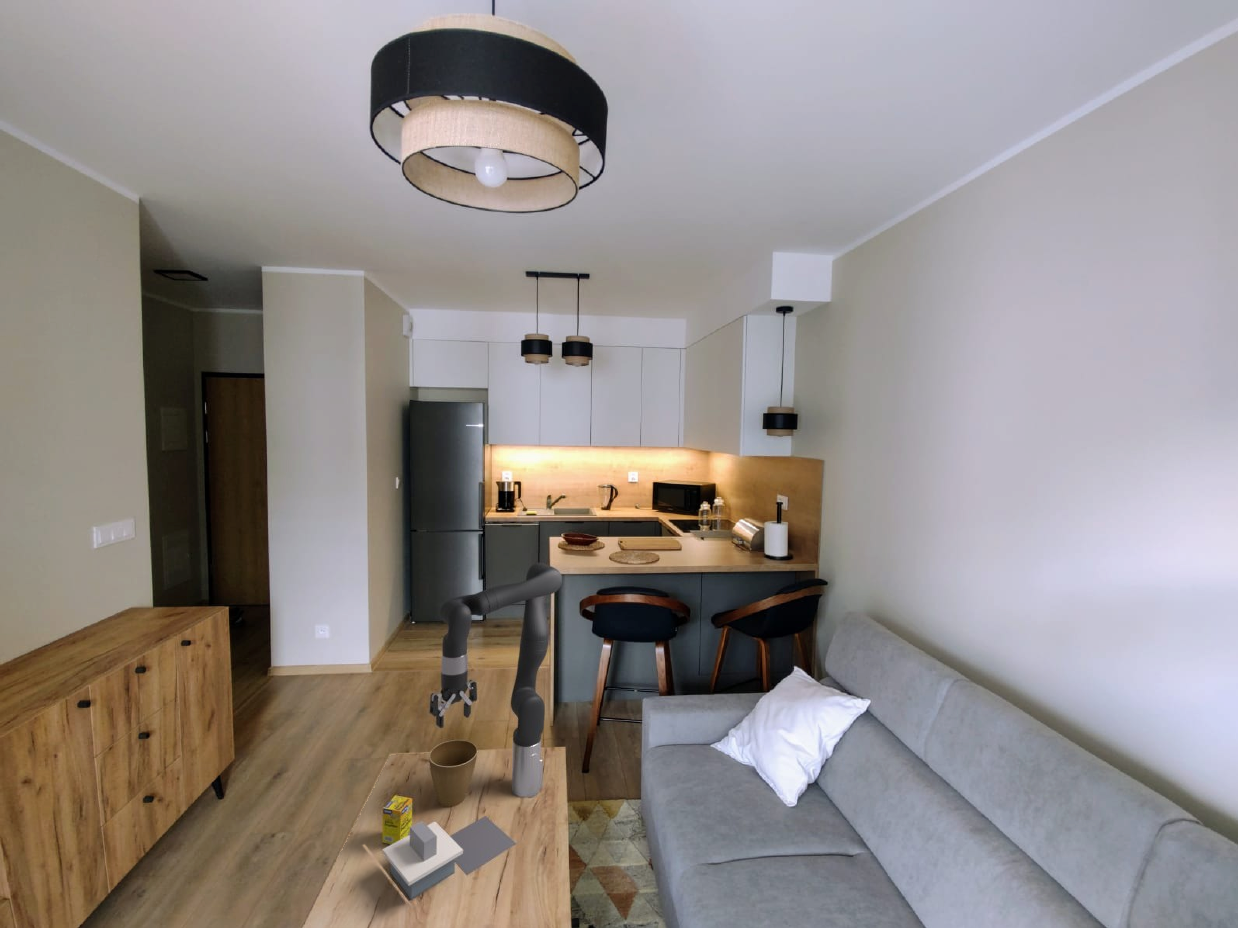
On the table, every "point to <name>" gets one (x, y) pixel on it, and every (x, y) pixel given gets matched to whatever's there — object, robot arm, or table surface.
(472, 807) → the table surface
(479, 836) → the mat
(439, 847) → the lid
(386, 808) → the supplement box
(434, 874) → the grey storage bin
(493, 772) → the table surface
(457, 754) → the plant pot
